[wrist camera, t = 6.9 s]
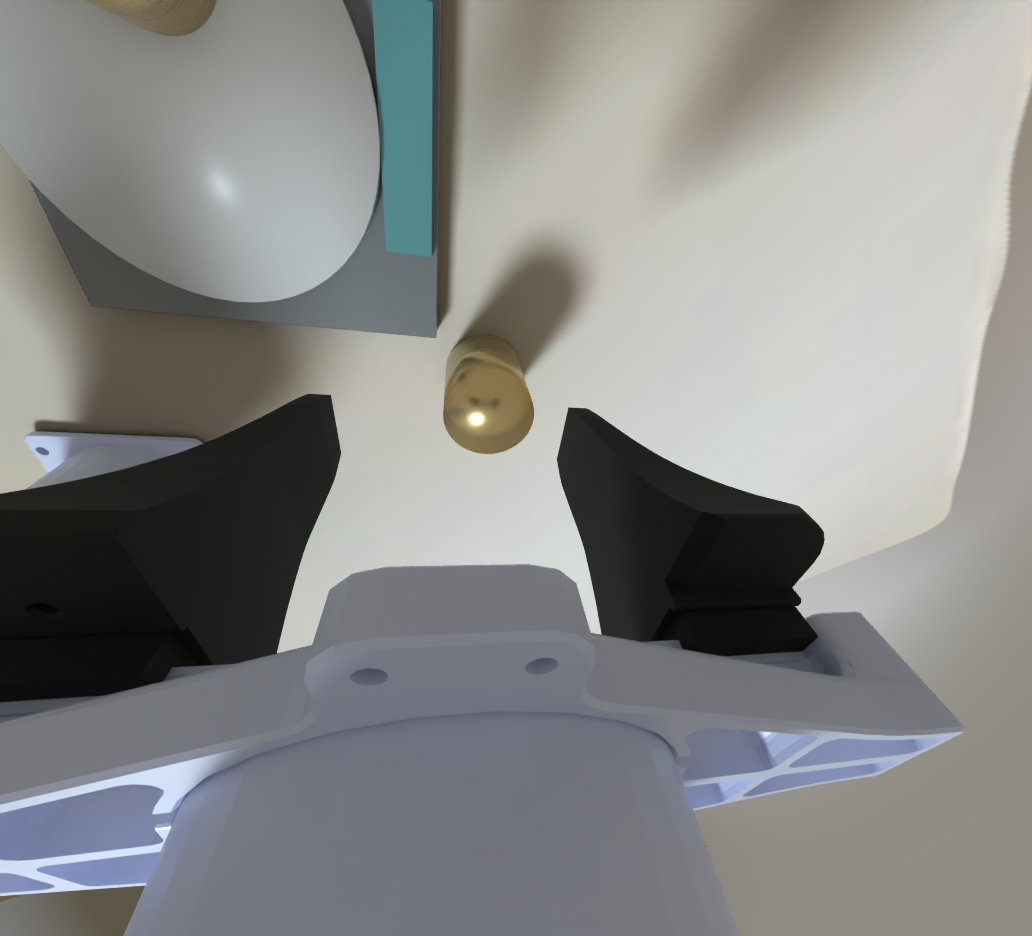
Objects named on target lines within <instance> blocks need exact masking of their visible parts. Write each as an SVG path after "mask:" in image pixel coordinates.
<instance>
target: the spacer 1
mask: <svg viewBox="0 0 1032 936" xmlns="http://www.w3.org/2000/svg"><path fill="white" fill-rule="evenodd" d="M84 1H86V2H88V3H90V4H92V5H94V6H96V7H98V8H101V9H103V10H105V11H107V12H109V13H111V14H113V15H115V16H118V17H120V18H122V19H124V20H126V21H128V22H130V23H132V24H134V25H137V26H139V27H141V28H143V29H145V30H148V31H150V32H153V33H156V34H160V35H165V36H183V35H187V34H190V33H193V32H195V31H196V30H198V29H199V28H201V27H202V26H203V25H204V24H205V23H206V22H207V20H208V19H209V17H210V16H211V14H212V12H213V10H214V7H215V5H216V1H217V0H84Z"/></svg>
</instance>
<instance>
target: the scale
mask: <svg viewBox="0 0 1032 936" xmlns="http://www.w3.org/2000/svg"><path fill="white" fill-rule="evenodd" d="M441 1H442V0H217V1H216V5H215V7H214V10H213V12H212V14H211V16H210V17H209V19H208V20H207V22H206V23H205V24H204V25H203V26H202V27H201V28H199V29H198V30H196V31H195V32H193V33H190V34H187V35H183V36H165V35H160V34H156V33H153V32H150V31H148V30H145V29H143V28H141V27H139V26H137V25H134V24H132V23H130V22H128V21H126V20H124V19H122V18H120V17H118V16H115V15H113V14H111V13H109V12H107V11H105V10H103V9H101V8H98V7H96V6H94V5H92V4H90V3H88V2H86V1H84V0H0V145H1V146H2V147H3V149H4V150H5V151H6V152H7V154H8V155H9V156H10V158H11V159H12V160H13V161H14V163H15V164H16V165H17V166H18V167H19V168H20V169H21V171H22V172H23V173H24V174H25V175H26V176H27V177H28V178H29V180H30V183H31V185H32V187H33V189H34V191H35V193H36V195H37V197H38V199H39V201H40V203H41V205H42V207H43V209H44V211H45V213H46V215H47V217H48V219H49V221H50V223H51V225H52V228H53V230H54V232H55V234H56V236H57V238H58V240H59V242H60V244H61V246H62V248H63V250H64V252H65V254H66V256H67V258H68V260H69V262H70V264H71V266H72V268H73V271H74V273H75V275H76V277H77V279H78V281H79V283H80V285H81V287H82V289H83V291H84V293H85V295H86V297H87V299H88V301H89V303H90V305H91V306H96V307H107V308H118V309H128V310H139V311H150V312H161V313H172V314H182V315H193V316H204V317H215V318H225V319H236V320H247V321H258V322H269V323H279V324H290V325H301V326H312V327H322V328H333V329H344V330H355V331H366V332H376V333H387V334H398V335H409V336H419V337H430V338H436V334H437V298H438V224H439V150H440V75H441Z"/></svg>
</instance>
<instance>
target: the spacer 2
mask: <svg viewBox="0 0 1032 936" xmlns="http://www.w3.org/2000/svg"><path fill="white" fill-rule="evenodd" d="M443 418H444V424H445V427H446V429H447V431H448V433H449V435H450V436H451V437H452V439H453V440H454V441H455V442H456V443H458V444H459V445H460V446H462V447H463V448H465V449H467V450H470V451H473V452H477V453H483V454H492V453H499V452H503V451H505V450H508V449H510V448H512V447H514V446H515V445H517V444H518V443H519V442H521V441H522V440H523V439H524V437H525V436H526V435H527V434H528V432H529V430H530V428H531V426H532V423H533V419H534V407H533V403H532V400H531V397H530V394H529V391H528V388H527V385H526V381H525V378H524V375H523V372H522V369H521V366H520V363H519V360H518V357H517V355H516V353H515V351H514V350H513V349H512V347H511V346H510V345H509V344H508V343H506V342H505V341H504V340H502V339H500V338H498V337H495V336H492V335H484V334H481V335H474V336H471V337H468V338H466V339H464V340H462V341H461V342H459V343H458V344H457V345H456V346H455V347H454V348H453V350H452V351H451V353H450V355H449V357H448V360H447V365H446V378H445V394H444V410H443Z"/></svg>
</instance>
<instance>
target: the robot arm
mask: <svg viewBox="0 0 1032 936" xmlns="http://www.w3.org/2000/svg"><path fill="white" fill-rule="evenodd" d="M24 440H25V442H26V443H27V445H28V446H29V448H30V449H31V450H32V452H33V453H34V454H35V456H36V457H37V459H38V460H39V461H40V463H41V464H42V465H43V467H44V468H45V470H46V471H47V472H48V474H46V475H45V476H44V477H42V478H41V479H39V480H38V481H37V482H35V483H34V484H32V485H31V486H30V487H28V488H27V489H26V490H20V491H14V492H9V493H3V494H0V896H5V895H18V894H32V893H45V892H60V891H73V890H86V889H101V888H113V887H114V888H115V887H128V886H142V885H146V886H145V888H144V891H143V893H142V895H141V897H140V900H139V902H138V904H137V906H136V908H135V911H134V913H133V915H132V918H131V920H130V922H129V924H128V927H127V929H126V931H125V933H124V936H740V935H739V932H738V930H737V927H736V924H735V921H734V919H733V916H732V914H731V911H730V908H729V905H728V903H727V900H726V897H725V895H724V892H723V889H722V887H721V884H720V881H719V879H718V876H717V873H716V871H715V868H714V865H713V862H712V860H711V857H710V854H709V851H708V849H707V846H706V843H705V841H704V838H703V835H702V833H701V830H700V827H699V824H698V822H697V819H696V816H695V814H694V811H693V810H698V809H702V808H707V807H712V806H716V805H721V804H725V803H730V802H735V801H740V800H744V799H749V798H754V797H758V796H763V795H768V794H773V793H777V792H782V791H788V790H793V789H797V788H802V787H808V786H813V785H819V784H825V783H830V782H836V781H843V780H849V779H856V778H863V777H870V776H876V775H879V774H881V773H883V772H885V771H887V770H889V769H891V768H893V767H895V766H897V765H899V764H901V763H903V762H905V761H907V760H909V759H911V758H913V757H915V756H917V755H919V754H921V753H923V752H925V751H927V750H929V749H931V748H933V747H935V746H937V745H939V744H941V743H943V742H945V741H947V740H949V739H951V738H953V737H955V736H957V735H959V734H961V733H963V732H964V725H963V724H962V723H961V722H960V721H959V720H958V719H957V718H956V717H955V715H953V714H952V712H951V711H950V710H949V709H948V708H947V707H946V706H945V705H944V703H943V702H942V701H941V700H940V699H939V698H938V697H937V696H936V695H935V694H934V693H933V692H932V690H931V689H930V688H929V687H928V686H927V685H926V684H925V683H924V682H923V681H922V680H921V679H920V677H919V676H918V675H917V674H916V673H915V672H914V671H913V670H912V669H911V668H910V667H909V666H908V664H907V663H906V662H905V661H904V660H903V659H902V658H901V657H900V656H899V655H898V654H897V653H896V651H895V650H894V649H893V648H892V647H891V646H890V645H889V644H888V643H887V642H886V641H885V639H884V638H883V637H882V636H881V635H880V634H879V633H878V632H877V631H876V630H875V629H874V627H873V626H871V624H870V623H869V622H868V621H867V620H866V619H865V618H864V617H863V616H862V614H861V613H858V612H833V613H819V614H814V615H811V616H809V617H807V618H805V619H804V617H803V616H802V615H801V613H800V612H799V611H798V610H797V608H796V607H795V606H798V605H799V604H800V603H801V598H800V597H799V596H798V594H797V593H796V592H795V591H794V590H793V588H792V587H793V586H794V585H795V584H796V583H797V581H798V580H799V579H800V578H801V577H802V576H803V574H804V573H805V572H806V571H807V570H808V569H809V568H810V566H811V565H812V564H813V563H814V562H815V560H816V559H817V557H818V556H819V555H820V553H821V550H822V547H823V544H824V532H823V530H822V529H821V528H820V526H819V525H818V524H817V523H816V522H815V521H814V520H813V519H812V518H811V517H810V516H809V515H808V514H807V513H806V512H805V511H804V510H803V509H802V508H800V507H799V506H797V505H793V504H789V503H785V502H782V501H778V500H774V499H770V498H766V497H762V496H758V495H755V494H751V493H748V492H745V491H742V490H739V489H736V488H733V487H729V486H727V485H724V484H721V483H718V482H716V481H713V480H710V479H708V478H706V477H703V476H701V475H698V474H696V473H693V472H691V471H689V470H687V469H684V468H682V467H680V466H678V465H676V464H674V463H672V462H670V461H668V460H666V459H665V458H663V457H661V456H659V455H657V454H655V453H654V452H652V451H650V450H649V449H647V448H646V447H644V446H642V445H641V444H639V443H638V442H636V441H634V440H633V439H631V438H630V437H628V436H627V435H626V434H624V433H623V432H621V431H620V430H618V429H617V428H616V427H614V426H613V425H611V424H610V423H608V422H607V421H606V420H604V419H603V418H601V417H600V416H598V415H597V414H595V413H594V412H592V411H591V410H589V409H586V408H568V412H567V417H566V421H565V426H564V430H563V435H562V439H561V444H560V448H559V453H558V457H557V462H558V468H559V474H560V478H561V483H562V486H563V489H564V492H565V495H566V498H567V501H568V504H569V506H570V509H571V512H572V515H573V517H574V520H575V523H576V525H577V528H578V531H579V534H580V536H581V540H582V543H583V546H584V550H585V554H586V558H587V563H588V567H589V571H590V576H591V581H592V585H593V590H594V595H595V600H596V605H597V611H598V617H599V622H600V628H601V633H602V635H600V634H594V633H590V629H589V626H588V622H587V619H586V615H585V612H584V609H583V605H582V602H581V598H580V595H579V591H578V588H577V584H576V583H575V582H574V581H572V580H571V579H570V578H569V577H567V576H566V575H565V574H564V573H562V572H561V571H560V570H557V569H554V568H548V567H542V566H536V565H530V564H517V565H460V566H402V567H384V568H378V569H373V570H368V571H362V572H357V573H354V574H351V575H350V576H349V577H347V578H346V579H344V580H343V581H342V582H340V583H339V584H337V585H336V586H335V587H333V588H332V589H330V590H329V593H328V596H327V600H326V603H325V606H324V609H323V612H322V616H321V619H320V622H319V625H318V628H317V632H316V635H315V638H314V641H313V645H310V646H306V647H302V648H298V649H294V650H290V651H285V652H281V653H277V649H278V645H279V641H280V637H281V633H282V629H283V624H284V620H285V616H286V612H287V608H288V605H289V601H290V597H291V594H292V590H293V586H294V583H295V579H296V576H297V572H298V569H299V566H300V562H301V559H302V556H303V552H304V550H305V547H306V544H307V542H308V539H309V537H310V534H311V532H312V530H313V528H314V525H315V523H316V521H317V519H318V516H319V514H320V512H321V510H322V507H323V505H324V503H325V501H326V498H327V496H328V494H329V491H330V489H331V487H332V484H333V482H334V479H335V476H336V472H337V468H338V464H339V460H340V456H341V450H340V444H339V439H338V433H337V427H336V422H335V416H334V411H333V405H332V399H331V395H319V394H307V395H304V396H302V397H299V398H297V399H295V400H293V401H291V402H289V403H287V404H285V405H284V406H282V407H280V408H278V409H276V410H274V411H272V412H270V413H268V414H266V415H265V416H263V417H261V418H259V419H257V420H255V421H253V422H251V423H249V424H246V425H244V426H242V427H240V428H238V429H236V430H234V431H232V432H230V433H227V434H225V435H223V436H221V437H218V438H216V439H214V440H211V441H209V442H206V443H204V444H203V443H202V442H201V441H200V440H197V439H194V438H180V437H157V436H134V435H111V434H88V433H65V432H42V431H34V432H31V433H30V434H28V435H26V436H25V438H24Z"/></svg>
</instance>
